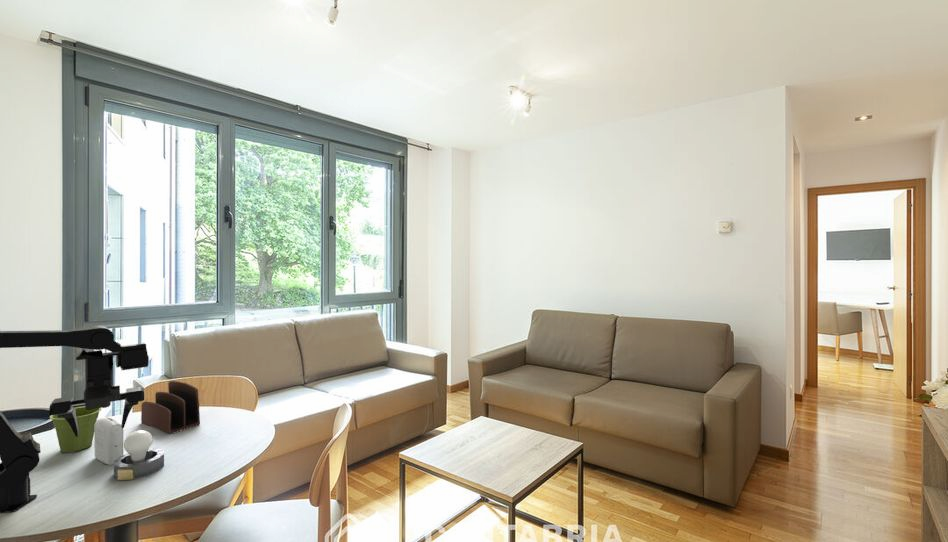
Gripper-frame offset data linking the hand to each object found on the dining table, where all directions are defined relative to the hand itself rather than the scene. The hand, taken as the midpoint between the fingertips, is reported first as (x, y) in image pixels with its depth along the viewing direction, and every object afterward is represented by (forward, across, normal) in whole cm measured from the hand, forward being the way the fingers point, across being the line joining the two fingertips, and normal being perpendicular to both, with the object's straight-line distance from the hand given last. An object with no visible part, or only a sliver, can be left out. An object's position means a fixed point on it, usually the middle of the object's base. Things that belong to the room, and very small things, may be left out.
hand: (100, 432), depth 115 cm
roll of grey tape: (+13, +8, +1) cm, 15 cm away
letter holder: (+13, +17, +37) cm, 43 cm away
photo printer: (+13, +1, +14) cm, 19 cm away
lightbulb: (+13, +8, +1) cm, 15 cm away
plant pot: (+13, -7, +30) cm, 34 cm away
